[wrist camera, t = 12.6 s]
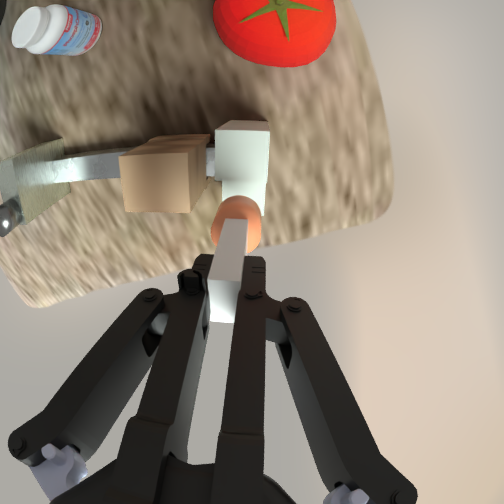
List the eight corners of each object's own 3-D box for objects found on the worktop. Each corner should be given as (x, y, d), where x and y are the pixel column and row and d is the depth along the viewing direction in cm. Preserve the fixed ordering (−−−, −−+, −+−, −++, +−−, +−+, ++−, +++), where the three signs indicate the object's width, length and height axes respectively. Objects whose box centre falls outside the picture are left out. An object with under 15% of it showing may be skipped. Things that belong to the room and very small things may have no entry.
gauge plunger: (221, 223, 24) (211, 254, 20) (220, 186, 22) (209, 209, 18) (260, 225, 24) (259, 256, 19) (262, 187, 22) (262, 212, 18)
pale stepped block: (229, 193, 32) (216, 232, 23) (230, 120, 27) (215, 129, 19) (263, 194, 32) (263, 235, 23) (267, 121, 27) (269, 131, 18)
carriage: (160, 180, 30) (125, 213, 22) (158, 135, 27) (118, 154, 19) (210, 180, 30) (190, 215, 22) (210, 133, 27) (187, 150, 19)
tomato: (218, -4, 19) (196, -45, 10) (316, -8, 18) (339, -48, 9) (226, 77, 24) (205, 65, 15) (325, 73, 24) (357, 61, 14)
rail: (52, 193, 32) (-6, 236, 21) (44, 142, 28) (-22, 173, 16) (229, 189, 31) (209, 247, 20) (230, 121, 27) (207, 138, 16)
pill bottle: (101, 50, 22) (40, 43, 12) (65, 60, 22) (4, 62, 12) (106, 9, 18) (51, -10, 9) (69, 21, 18) (12, 13, 9)
